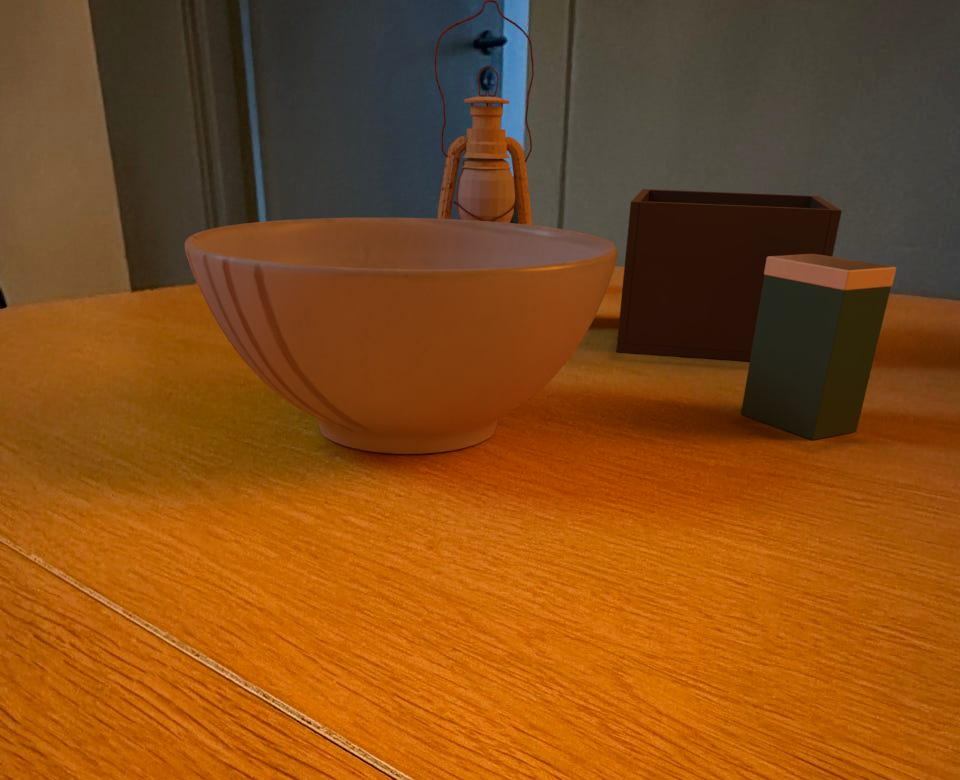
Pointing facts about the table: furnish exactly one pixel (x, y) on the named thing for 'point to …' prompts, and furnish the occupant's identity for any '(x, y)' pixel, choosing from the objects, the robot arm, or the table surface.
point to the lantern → (486, 161)
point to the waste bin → (709, 266)
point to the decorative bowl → (402, 318)
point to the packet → (815, 343)
